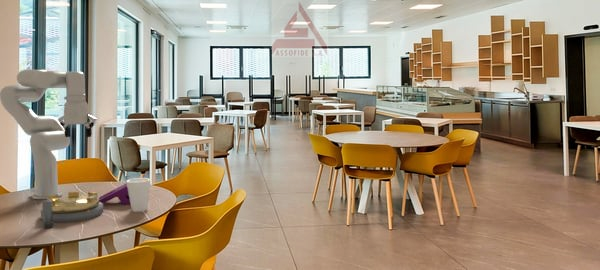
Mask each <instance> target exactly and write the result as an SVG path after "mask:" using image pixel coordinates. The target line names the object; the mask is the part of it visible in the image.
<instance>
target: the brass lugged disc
mask: <svg viewBox="0 0 600 270" xmlns="http://www.w3.org/2000/svg"><path fill="white" fill-rule="evenodd" d="M46 200H51V201H52V213H58V214H61V213H75V212H81V211H86V210H90V209H93V208H95V207H97V206H98V205H99V195H98V192H97V191H93V190H92V191H91V190H90V191H88V192H87V195H86V194H80V190H74V191H68V194H67V196H63V197H62V196H60V197H58V195H55V194H53V195H50V196H48V197H47V199H44V201H46Z"/></svg>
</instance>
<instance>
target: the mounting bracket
mask: <svg viewBox="0 0 600 270" xmlns="http://www.w3.org/2000/svg"><path fill="white" fill-rule="evenodd" d="M98 198H99V202H101V203H103V204H105V203H107V202H109V201H110V200H113V199H115V198H118V200H119V202H120V203H121V204H122V205H125V206H126V205H127V206H128V205H130V198H129V193H128V187H127V182H126V183H124V184H122V185H120V186H118V187H116V188H114V189H113V190H111V191H109V192H107V193H105V194H103V195H101V196H100V197H99V196H98ZM130 206H131V205H130Z"/></svg>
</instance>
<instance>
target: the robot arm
mask: <svg viewBox="0 0 600 270" xmlns="http://www.w3.org/2000/svg"><path fill="white" fill-rule="evenodd" d="M16 82H18V84H15V85H14V84H13V85H7V86H4V87H2V88H1V90H0V102H1V105H2V107H3V108H4V109H5V110H6V111H7V113H8V114H10V116H12V117H13V119H14V120H15V122H16V123H17V124H18V125H19V126H20V128H21V129H22V131H23V132H24V133H25V134H26V135H27V136H31V137H30V139H29V145H30V148H31V151H32V156H33V157H32V158H33V168H34V169H33V170H34V185H35V186H33V187H32V188H31V189H30V192H32V193H34V194H33V195H32V196H31V198H32V199H33V200H47V197H48V196H50V195H53V194H55V195H58V198H61V197H62V196H63V192H62V191H59V181H58V164H57V163H58V162H57V159H56V156H55V155H54V154H53V152H54V151H59V150H60V151H61V150H64V149H67V148H68V147H69V146H70V144H71V138H70V137H71V128H70V126H71V125H84V126H85V127H86V128H85V136H86V138H90V137H92V134H93V133H92V129H93V127H94V126H95V125H96V122H97V121H98V120H97V118H96V117H95V116H93V115H90V109H89V104H88V102H87V101H86V84H85V83H86V81H85V74H84V72H83V71H64V70H63V71H62V70H61V71H60V70H46V69H29V68H28V69H23V70H20V71H19V72H18V73H17V75H16ZM48 89H65V91H66V95H65V96H64V98H63V99H64V100H66V102H64V107H63V108H64V109H63V116H60V117H59V118H58V119H57V118H56V117H54V116H52V115H37V114H36V113H35V112H34V111H33V109H31V107H29V106H28V105H27V104H25V103H35V102H39V100H41V99H42V97H43V96H44V94H45V93H46V92H47V90H48ZM90 121H91V122H90Z"/></svg>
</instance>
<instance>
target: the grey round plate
mask: <svg viewBox="0 0 600 270" xmlns="http://www.w3.org/2000/svg"><path fill="white" fill-rule="evenodd" d="M103 213H104V203H101V202H99V205H98V206H97V207H95V208H93V209H90V210H86V211H81V212H75V213H61V214H58V213H53V224H54V223H55V224H60V223H61V224H62V223H63V224H64V223H66V224H67V223H75V222H81V221H86V220H91V219H93V218H97V217H98V216H101V215H102V214H103ZM96 216H97V217H96ZM40 219H41V221H43V210H42V209H41V210H40Z"/></svg>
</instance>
